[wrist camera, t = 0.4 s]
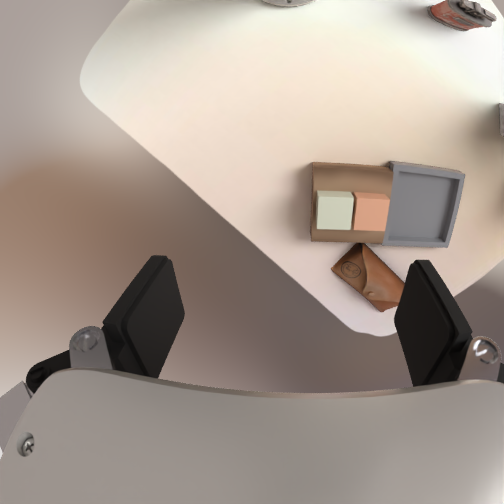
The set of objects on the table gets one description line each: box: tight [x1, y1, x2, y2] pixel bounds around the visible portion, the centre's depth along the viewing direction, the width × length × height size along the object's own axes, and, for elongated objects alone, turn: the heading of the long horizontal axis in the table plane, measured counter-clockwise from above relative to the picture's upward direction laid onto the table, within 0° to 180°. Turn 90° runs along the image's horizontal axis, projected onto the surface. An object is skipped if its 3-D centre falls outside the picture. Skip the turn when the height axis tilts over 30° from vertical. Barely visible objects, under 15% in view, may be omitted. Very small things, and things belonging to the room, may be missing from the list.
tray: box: [381, 161, 465, 248], centre depth 39 cm, size 14×14×2 cm
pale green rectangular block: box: [316, 190, 354, 230], centre depth 39 cm, size 5×5×2 cm
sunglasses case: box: [331, 243, 405, 312], centre depth 48 cm, size 18×7×7 cm
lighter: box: [428, 0, 496, 31], centre depth 17 cm, size 8×3×10 cm, turn 92°
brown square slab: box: [310, 162, 394, 243], centre depth 41 cm, size 12×12×3 cm
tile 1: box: [351, 192, 390, 231], centre depth 38 cm, size 5×5×2 cm
